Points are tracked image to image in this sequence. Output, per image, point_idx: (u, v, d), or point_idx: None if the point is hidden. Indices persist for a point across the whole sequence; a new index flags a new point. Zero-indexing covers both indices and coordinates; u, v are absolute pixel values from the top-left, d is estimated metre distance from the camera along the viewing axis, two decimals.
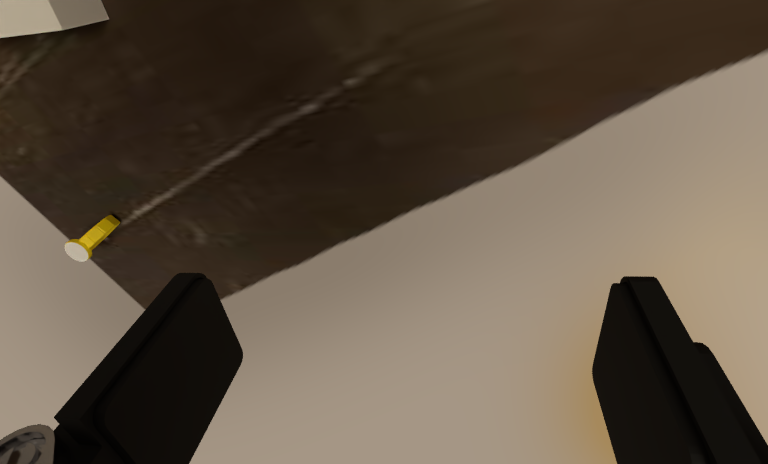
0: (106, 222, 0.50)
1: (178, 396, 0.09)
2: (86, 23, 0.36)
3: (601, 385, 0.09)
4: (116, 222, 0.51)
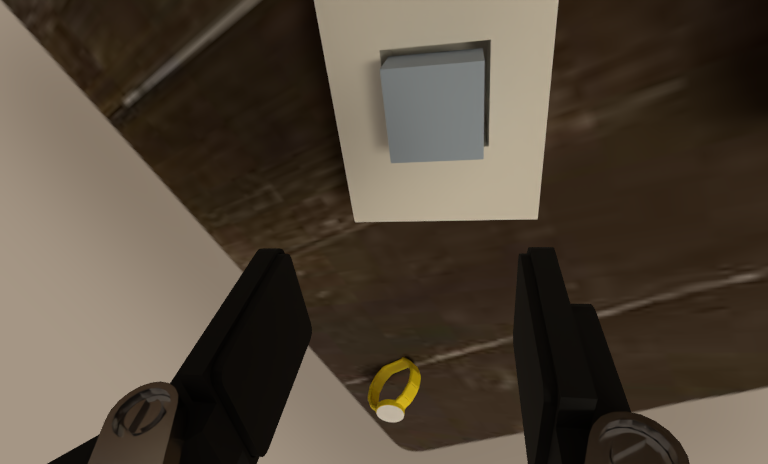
0: (415, 374, 0.43)
1: (269, 363, 0.10)
2: None
3: (516, 347, 0.10)
4: (418, 369, 0.44)
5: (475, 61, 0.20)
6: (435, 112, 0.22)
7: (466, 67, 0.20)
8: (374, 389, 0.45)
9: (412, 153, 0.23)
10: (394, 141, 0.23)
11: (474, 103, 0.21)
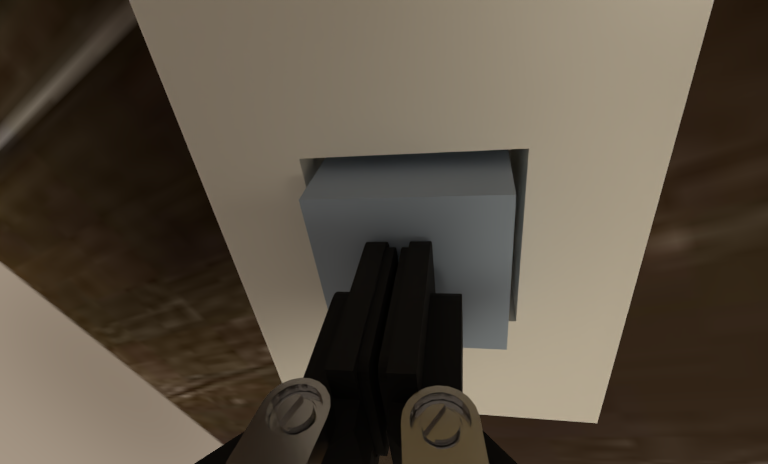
0: None
1: None
2: None
3: None
4: None
5: (496, 194, 0.09)
6: None
7: (476, 205, 0.10)
8: None
9: None
10: None
11: (491, 265, 0.10)
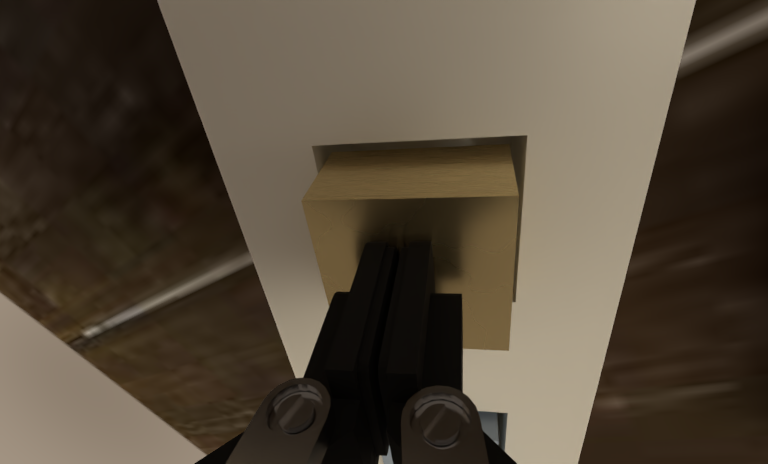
0: None
1: None
2: None
3: None
4: None
5: None
6: None
7: None
8: None
9: None
10: None
11: None
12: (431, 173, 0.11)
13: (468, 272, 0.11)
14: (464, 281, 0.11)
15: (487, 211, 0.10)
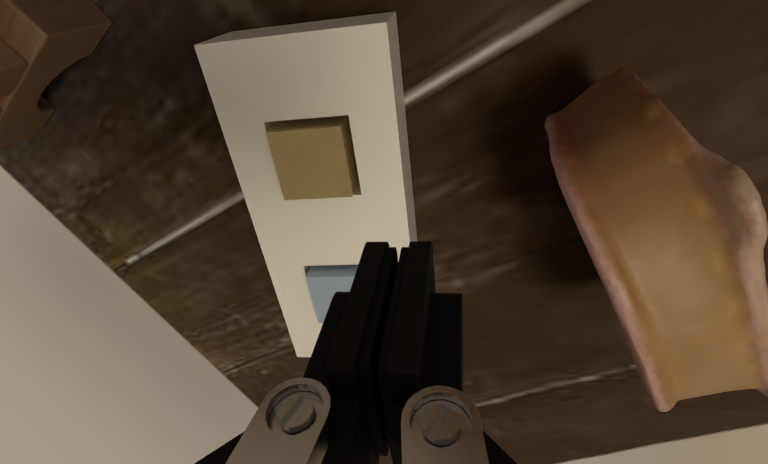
0: None
1: None
2: None
3: None
4: None
5: None
6: None
7: None
8: None
9: None
10: (319, 312, 0.36)
11: None
12: (314, 122, 0.28)
13: (329, 159, 0.28)
14: (329, 163, 0.28)
15: (331, 133, 0.27)
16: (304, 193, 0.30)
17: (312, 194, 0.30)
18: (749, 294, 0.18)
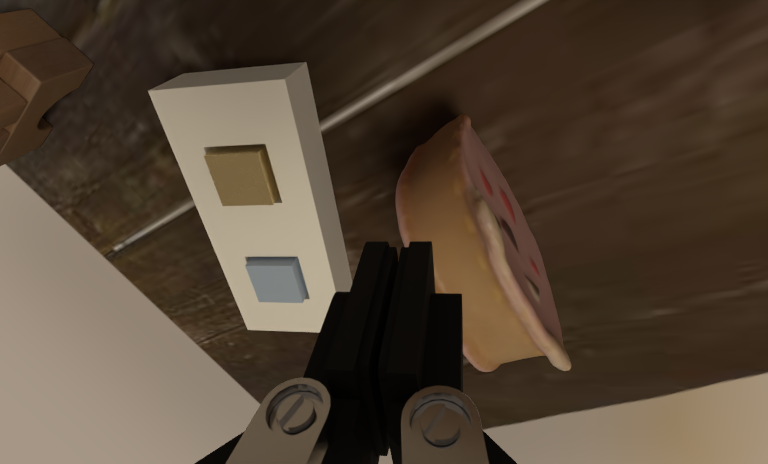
0: None
1: None
2: None
3: None
4: None
5: (287, 265, 0.42)
6: (275, 283, 0.44)
7: (284, 267, 0.42)
8: None
9: (268, 298, 0.45)
10: (258, 293, 0.45)
11: (291, 280, 0.43)
12: (241, 148, 0.37)
13: (252, 176, 0.37)
14: (252, 180, 0.37)
15: (251, 158, 0.36)
16: (237, 201, 0.39)
17: (243, 202, 0.39)
18: (503, 285, 0.27)
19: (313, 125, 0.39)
